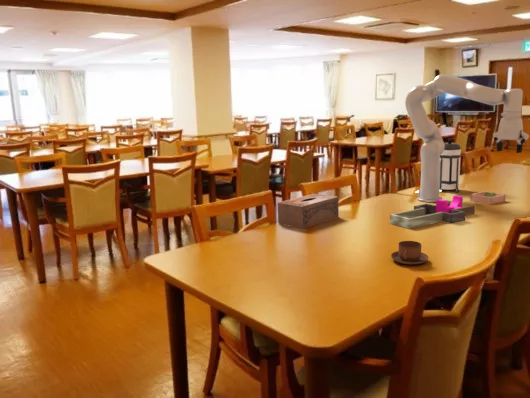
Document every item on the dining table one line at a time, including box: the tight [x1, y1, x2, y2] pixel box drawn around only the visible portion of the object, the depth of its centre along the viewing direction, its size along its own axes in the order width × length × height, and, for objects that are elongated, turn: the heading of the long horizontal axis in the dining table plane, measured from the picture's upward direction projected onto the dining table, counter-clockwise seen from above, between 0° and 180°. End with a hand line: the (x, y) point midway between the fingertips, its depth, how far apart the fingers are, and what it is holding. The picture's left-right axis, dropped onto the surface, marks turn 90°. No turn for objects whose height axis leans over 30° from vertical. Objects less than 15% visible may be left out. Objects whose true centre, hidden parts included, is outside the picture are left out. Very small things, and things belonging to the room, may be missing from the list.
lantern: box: [439, 138, 463, 193], centre depth 271 cm, size 17×16×30 cm
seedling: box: [484, 191, 497, 197], centre depth 242 cm, size 6×7×6 cm
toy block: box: [435, 195, 464, 213], centre depth 220 cm, size 15×6×8 cm, turn 125°
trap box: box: [389, 201, 476, 230], centre depth 214 cm, size 21×42×4 cm, turn 120°
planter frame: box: [469, 190, 506, 205], centre depth 244 cm, size 12×12×4 cm
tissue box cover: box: [277, 193, 340, 230], centre depth 218 cm, size 26×14×10 cm, turn 134°
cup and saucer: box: [391, 240, 429, 266], centre depth 160 cm, size 12×12×6 cm
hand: (509, 151), depth 228 cm, fingers open, 9 cm apart
